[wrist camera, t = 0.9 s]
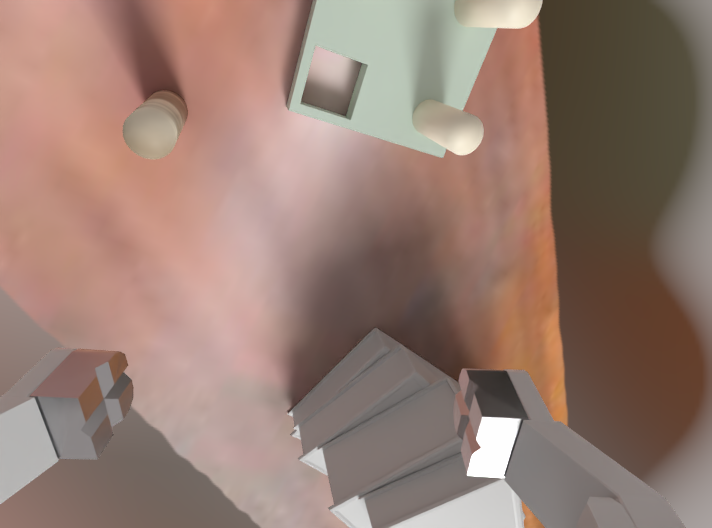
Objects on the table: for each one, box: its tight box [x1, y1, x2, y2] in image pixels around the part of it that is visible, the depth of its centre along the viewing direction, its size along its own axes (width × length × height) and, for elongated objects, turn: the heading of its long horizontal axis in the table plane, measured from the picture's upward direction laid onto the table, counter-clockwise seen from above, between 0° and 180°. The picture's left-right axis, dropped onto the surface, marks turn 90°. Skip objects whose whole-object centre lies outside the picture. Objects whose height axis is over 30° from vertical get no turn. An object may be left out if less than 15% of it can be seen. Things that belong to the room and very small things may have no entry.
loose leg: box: [123, 90, 188, 159], centre depth 40 cm, size 4×4×12 cm
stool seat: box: [286, 0, 542, 158], centre depth 43 cm, size 20×20×12 cm
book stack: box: [288, 328, 525, 528], centre depth 67 cm, size 30×35×26 cm
